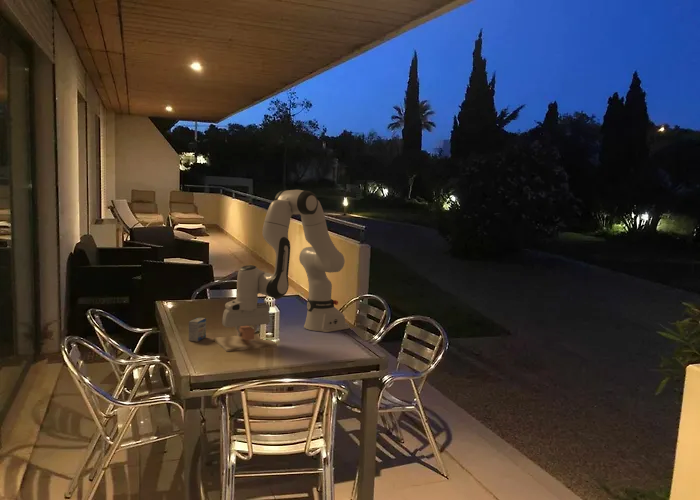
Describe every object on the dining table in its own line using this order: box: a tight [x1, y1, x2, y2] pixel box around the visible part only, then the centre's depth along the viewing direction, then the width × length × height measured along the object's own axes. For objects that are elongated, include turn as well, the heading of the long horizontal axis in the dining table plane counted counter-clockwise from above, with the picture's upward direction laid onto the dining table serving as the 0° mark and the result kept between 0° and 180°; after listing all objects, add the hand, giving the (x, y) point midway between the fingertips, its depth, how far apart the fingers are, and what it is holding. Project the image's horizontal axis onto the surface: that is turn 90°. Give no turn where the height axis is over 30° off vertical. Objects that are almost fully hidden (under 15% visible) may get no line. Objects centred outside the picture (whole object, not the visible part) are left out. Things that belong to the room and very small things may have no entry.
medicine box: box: [188, 317, 207, 342], centre depth 245 cm, size 8×4×9 cm, turn 168°
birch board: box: [213, 333, 278, 353], centre depth 243 cm, size 22×18×1 cm
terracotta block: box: [236, 325, 255, 340], centre depth 242 cm, size 4×4×10 cm
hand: (246, 335), depth 242 cm, fingers closed on terracotta block, 4 cm apart
